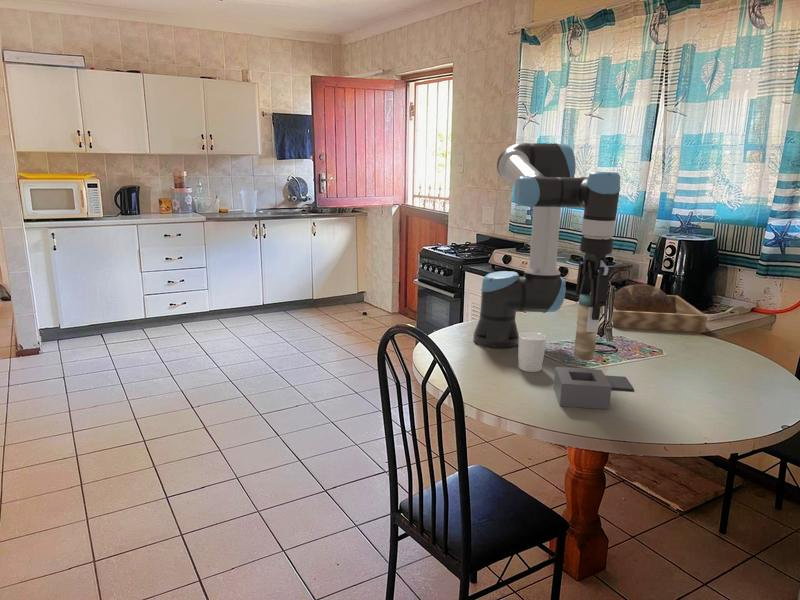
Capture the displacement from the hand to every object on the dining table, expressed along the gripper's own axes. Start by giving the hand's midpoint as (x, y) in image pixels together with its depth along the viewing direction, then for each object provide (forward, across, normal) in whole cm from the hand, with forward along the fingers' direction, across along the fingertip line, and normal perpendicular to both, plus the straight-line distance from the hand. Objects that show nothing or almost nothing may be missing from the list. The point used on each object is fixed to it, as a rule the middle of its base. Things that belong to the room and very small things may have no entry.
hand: (587, 327), depth 149 cm
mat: (+19, +9, -13) cm, 25 cm away
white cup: (+20, +22, +6) cm, 30 cm away
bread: (+20, +75, -57) cm, 97 cm away
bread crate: (+20, +74, -59) cm, 97 cm away
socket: (+19, 0, 0) cm, 19 cm away
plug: (+8, 0, 0) cm, 8 cm away
